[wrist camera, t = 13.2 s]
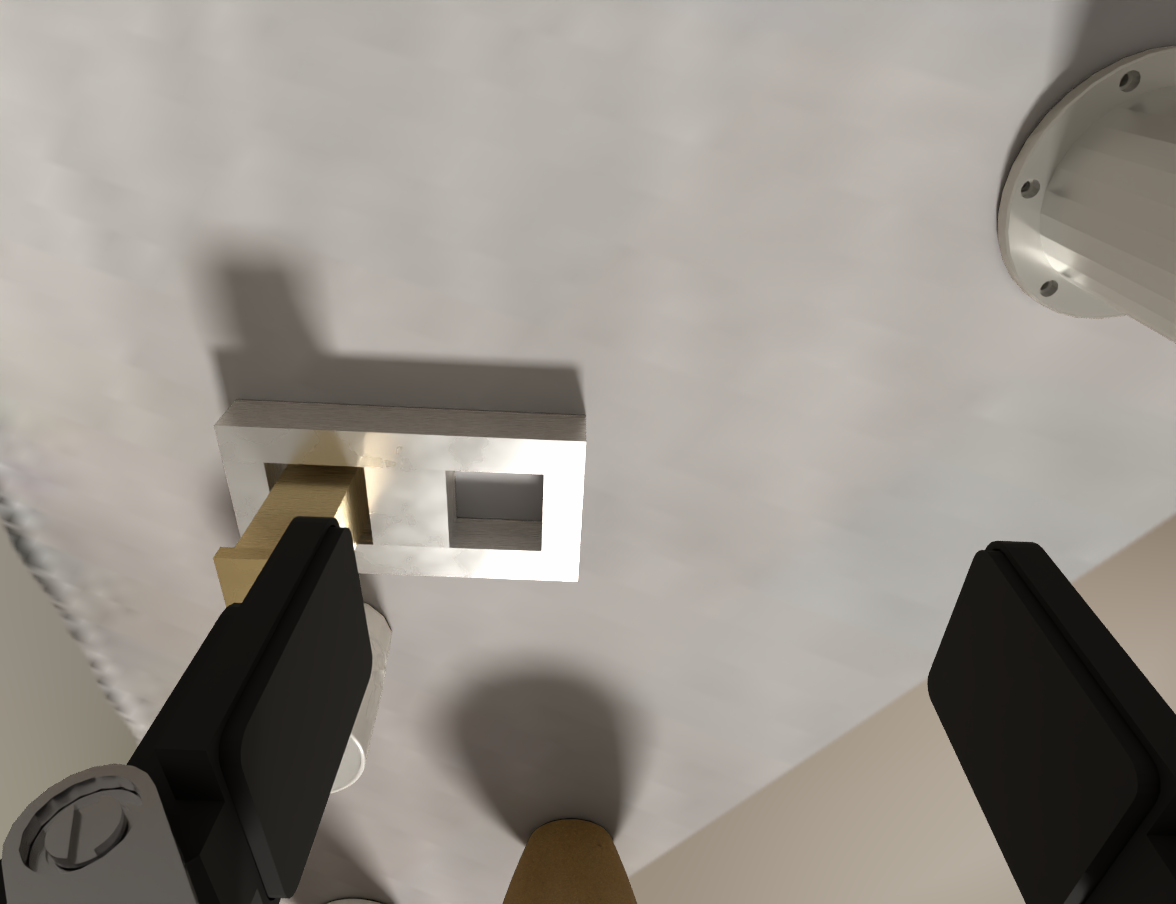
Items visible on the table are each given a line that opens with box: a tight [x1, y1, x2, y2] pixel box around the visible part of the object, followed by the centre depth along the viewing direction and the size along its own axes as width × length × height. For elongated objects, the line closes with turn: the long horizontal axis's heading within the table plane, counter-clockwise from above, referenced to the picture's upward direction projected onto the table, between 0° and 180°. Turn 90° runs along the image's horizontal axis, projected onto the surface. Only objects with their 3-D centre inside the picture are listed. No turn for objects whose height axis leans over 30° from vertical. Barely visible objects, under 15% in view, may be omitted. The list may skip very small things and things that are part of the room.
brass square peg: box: [213, 464, 370, 607], centre depth 40 cm, size 5×5×11 cm
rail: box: [214, 400, 586, 581], centre depth 44 cm, size 20×10×3 cm, turn 87°
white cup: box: [330, 603, 392, 793], centre depth 47 cm, size 8×8×10 cm
